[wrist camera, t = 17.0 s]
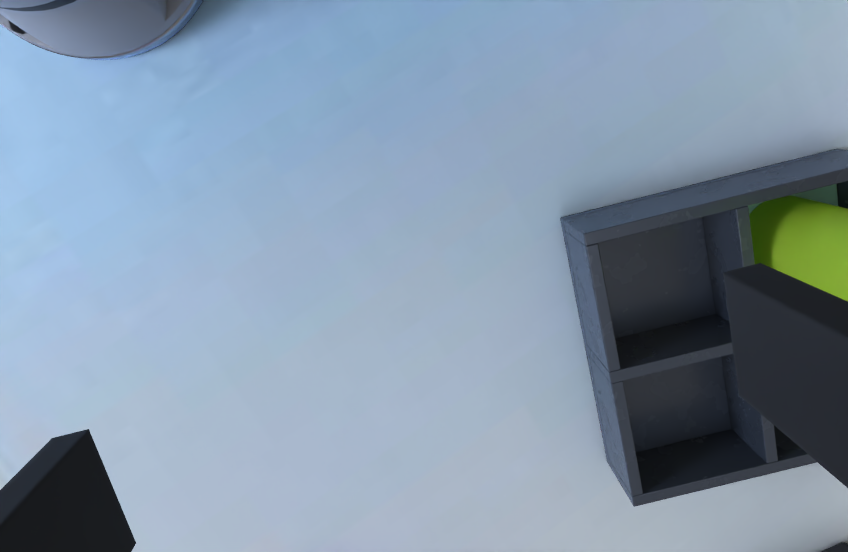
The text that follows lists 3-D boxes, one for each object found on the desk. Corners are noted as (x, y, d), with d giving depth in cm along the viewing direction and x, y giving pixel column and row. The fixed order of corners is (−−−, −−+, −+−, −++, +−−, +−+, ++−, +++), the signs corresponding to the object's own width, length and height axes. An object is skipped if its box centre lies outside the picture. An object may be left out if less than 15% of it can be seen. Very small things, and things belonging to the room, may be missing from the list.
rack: (560, 217, 46) (583, 233, 41) (836, 148, 46) (899, 155, 40) (607, 462, 51) (633, 506, 46) (857, 401, 51) (915, 438, 45)
